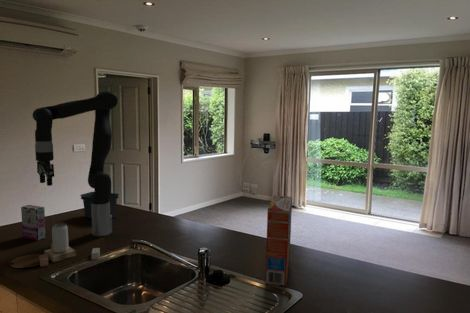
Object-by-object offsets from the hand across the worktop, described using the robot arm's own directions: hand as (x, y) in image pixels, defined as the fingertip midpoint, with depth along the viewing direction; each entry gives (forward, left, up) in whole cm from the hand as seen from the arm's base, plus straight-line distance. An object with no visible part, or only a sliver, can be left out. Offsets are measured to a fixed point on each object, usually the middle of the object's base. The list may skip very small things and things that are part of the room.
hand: (46, 184), depth 173 cm
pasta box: (-55, +98, -30) cm, 116 cm away
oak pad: (+2, +18, -30) cm, 35 cm away
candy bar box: (+2, -14, -30) cm, 33 cm away
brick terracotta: (+10, +21, -30) cm, 38 cm away
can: (+2, +18, -28) cm, 33 cm away
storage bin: (-39, -24, -30) cm, 55 cm away
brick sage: (-1, +9, -30) cm, 32 cm away
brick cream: (-8, +29, -29) cm, 41 cm away
